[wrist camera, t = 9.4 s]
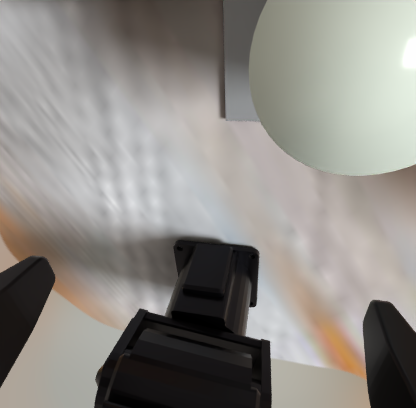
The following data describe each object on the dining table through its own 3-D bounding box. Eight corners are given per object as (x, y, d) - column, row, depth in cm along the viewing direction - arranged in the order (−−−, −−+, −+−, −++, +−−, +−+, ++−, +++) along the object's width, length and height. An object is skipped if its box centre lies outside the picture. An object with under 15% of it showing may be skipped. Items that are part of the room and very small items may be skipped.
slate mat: (421, 123, 16) (423, 126, 16) (226, 118, 18) (225, 120, 18) (523, -169, 11) (529, -172, 10) (221, -130, 13) (219, -132, 12)
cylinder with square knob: (386, 80, 15) (464, 182, 8) (266, 80, 16) (246, 169, 9) (443, -136, 11) (702, -302, 4) (277, -117, 12) (254, -221, 5)
